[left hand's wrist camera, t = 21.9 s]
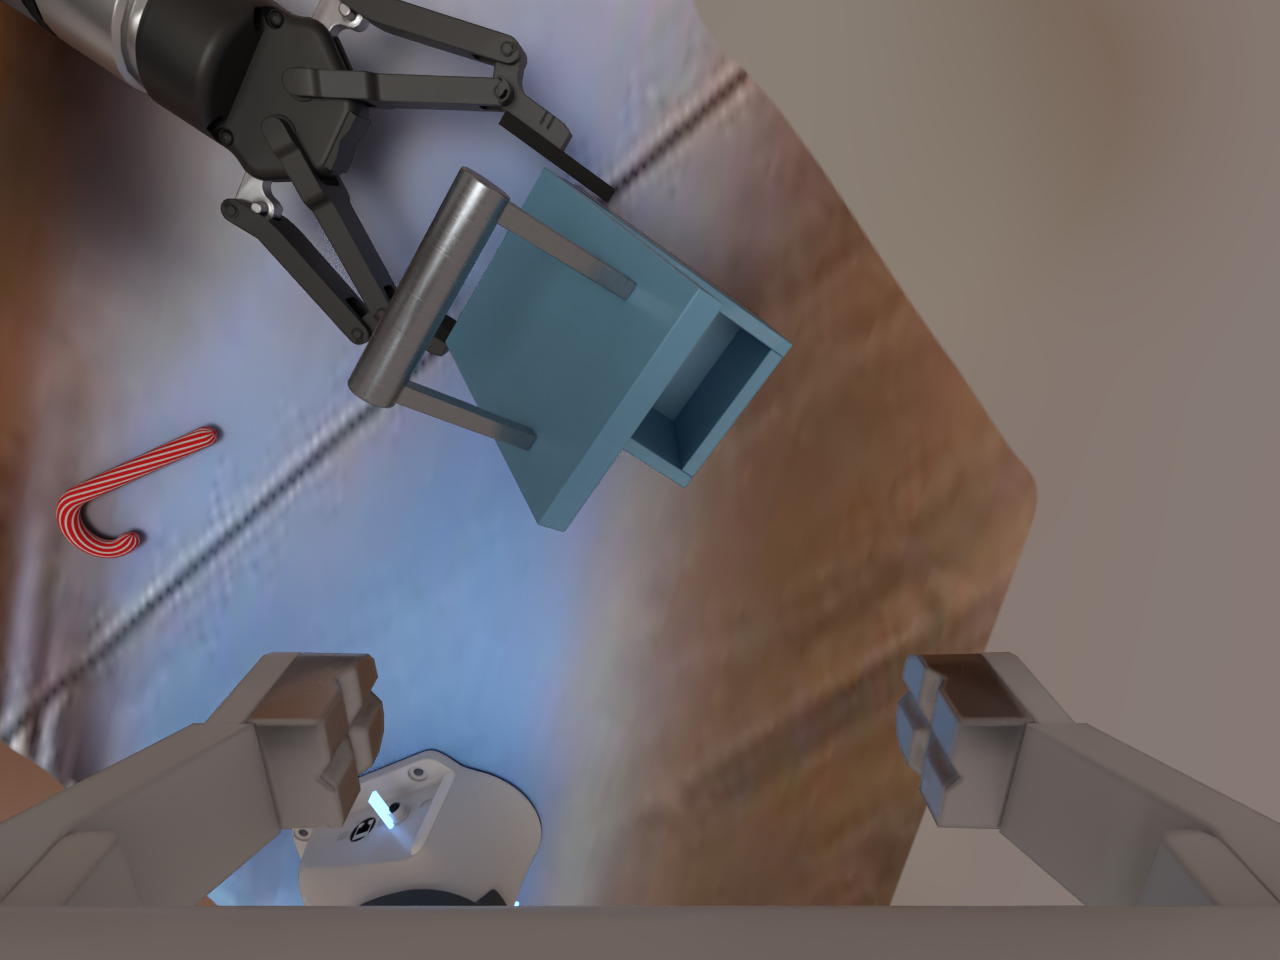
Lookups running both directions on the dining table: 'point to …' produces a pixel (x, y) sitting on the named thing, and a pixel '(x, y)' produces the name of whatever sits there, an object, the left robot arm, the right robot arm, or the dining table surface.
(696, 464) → the chest
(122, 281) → the dining table surface
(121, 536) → the candy cane
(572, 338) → the lid
